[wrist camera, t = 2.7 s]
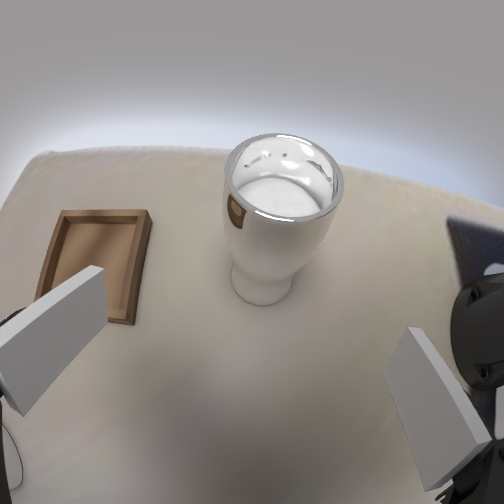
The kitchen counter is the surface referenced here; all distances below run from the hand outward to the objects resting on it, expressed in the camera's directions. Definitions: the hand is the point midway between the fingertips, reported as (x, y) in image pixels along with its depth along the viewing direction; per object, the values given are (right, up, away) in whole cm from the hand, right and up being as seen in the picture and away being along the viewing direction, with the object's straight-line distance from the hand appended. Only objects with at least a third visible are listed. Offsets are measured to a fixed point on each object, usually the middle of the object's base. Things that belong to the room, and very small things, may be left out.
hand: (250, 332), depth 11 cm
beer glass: (+1, +1, +17) cm, 17 cm away
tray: (-17, +2, +16) cm, 24 cm away
